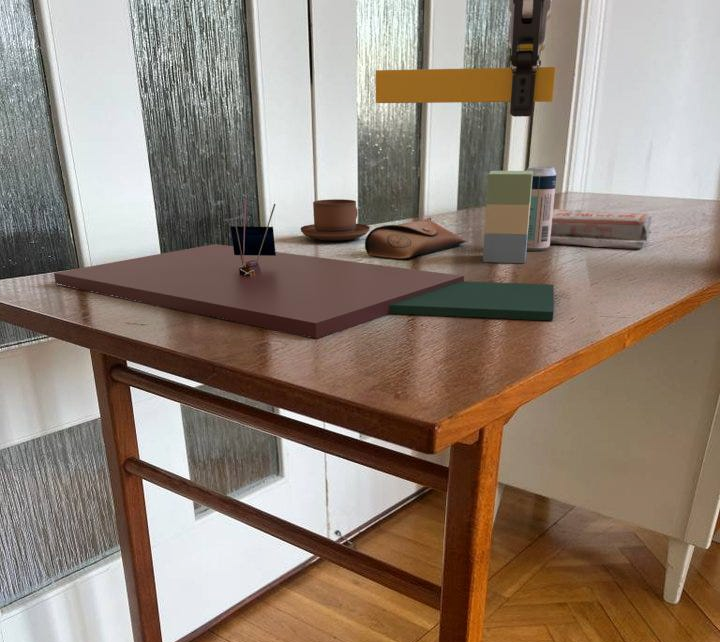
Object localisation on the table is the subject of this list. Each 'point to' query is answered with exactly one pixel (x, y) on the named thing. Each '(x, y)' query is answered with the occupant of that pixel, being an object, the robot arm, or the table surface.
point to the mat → (483, 301)
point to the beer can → (541, 208)
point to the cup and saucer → (335, 221)
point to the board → (260, 284)
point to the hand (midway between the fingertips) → (521, 115)
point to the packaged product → (600, 229)
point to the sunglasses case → (409, 239)
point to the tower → (507, 216)
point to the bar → (457, 85)
